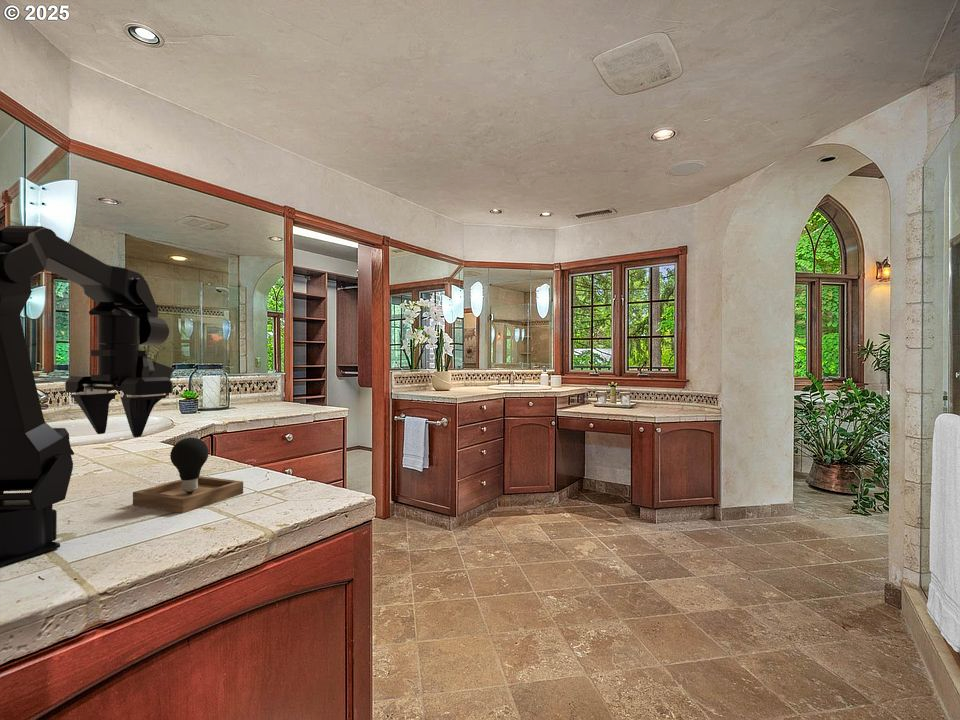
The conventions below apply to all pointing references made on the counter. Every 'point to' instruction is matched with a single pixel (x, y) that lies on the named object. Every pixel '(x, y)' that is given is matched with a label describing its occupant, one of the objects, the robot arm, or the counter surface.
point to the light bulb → (189, 461)
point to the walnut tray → (182, 502)
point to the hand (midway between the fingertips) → (118, 435)
